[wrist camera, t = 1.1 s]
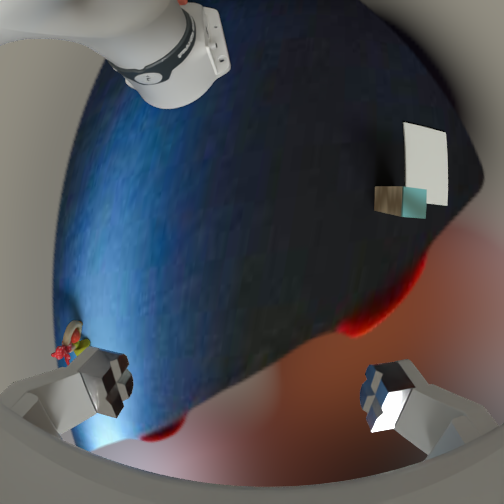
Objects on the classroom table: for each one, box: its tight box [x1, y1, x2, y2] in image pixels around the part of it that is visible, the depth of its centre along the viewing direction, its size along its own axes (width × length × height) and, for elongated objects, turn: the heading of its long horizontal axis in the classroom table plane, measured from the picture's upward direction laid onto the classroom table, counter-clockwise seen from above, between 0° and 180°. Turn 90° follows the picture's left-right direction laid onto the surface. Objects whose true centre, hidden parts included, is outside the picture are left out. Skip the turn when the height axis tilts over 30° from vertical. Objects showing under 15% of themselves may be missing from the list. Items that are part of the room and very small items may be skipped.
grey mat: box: [403, 122, 448, 206], centre depth 38 cm, size 14×10×1 cm
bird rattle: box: [51, 320, 90, 365], centre depth 44 cm, size 6×11×9 cm
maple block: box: [374, 186, 427, 218], centre depth 36 cm, size 4×4×10 cm
